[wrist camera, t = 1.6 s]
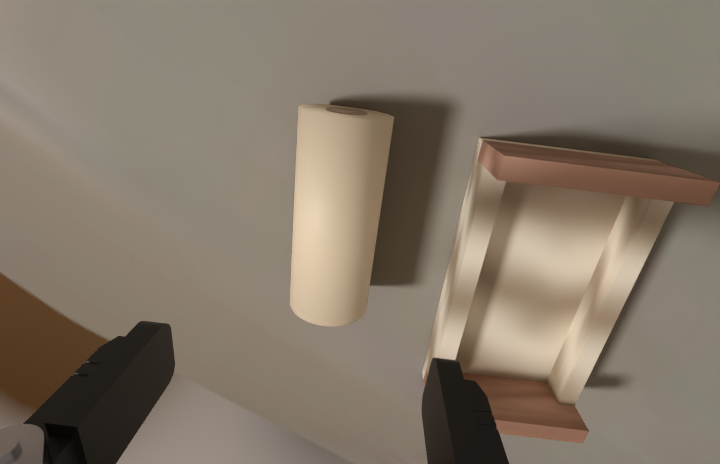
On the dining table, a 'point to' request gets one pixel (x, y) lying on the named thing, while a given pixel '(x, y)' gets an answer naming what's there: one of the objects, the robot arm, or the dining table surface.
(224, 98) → the dining table surface
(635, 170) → the roll holder
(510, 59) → the dining table surface
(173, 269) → the dining table surface
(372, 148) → the paper roll
